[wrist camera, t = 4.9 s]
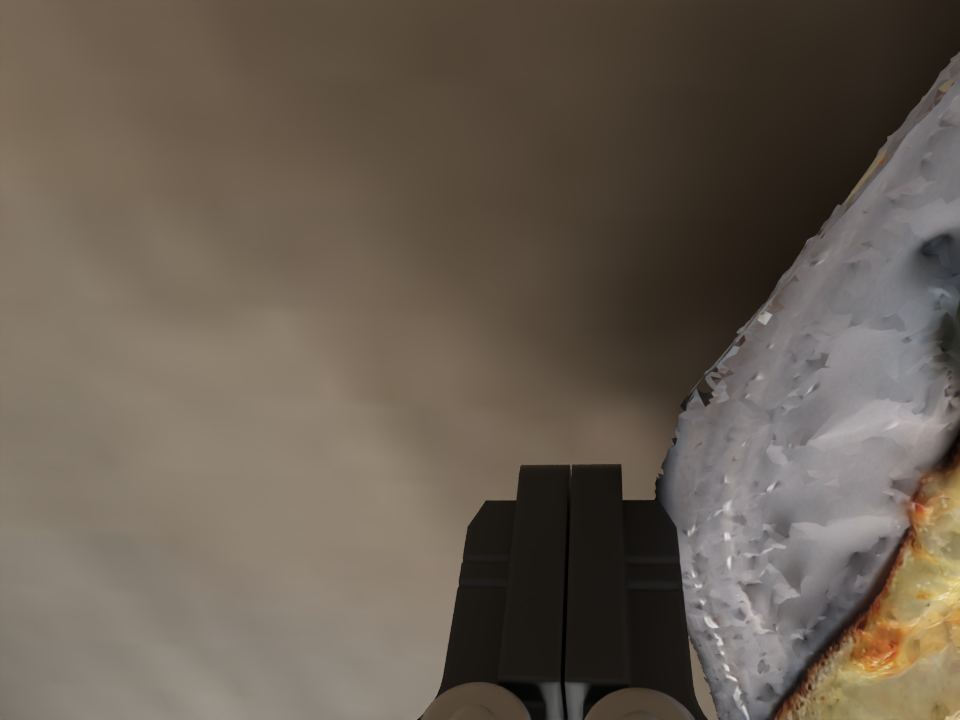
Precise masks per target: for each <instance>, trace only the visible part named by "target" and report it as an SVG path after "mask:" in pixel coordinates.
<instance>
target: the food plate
mask: <svg viewBox="0 0 960 720" xmlns="http://www.w3.org/2000/svg"><path fill="white" fill-rule="evenodd" d="M950 61H951V62H950V64H949V65H948V66H947V67H946V68H945V69H943V70H942V71H941V72H940V74H939V77H938V78H937V80H936V81H935V83H934V84H933V86H932V87H931V89H930V90H929V91H928V93H927V94H926V95H925V96H923V97H922V99H921V102H920V103H919V104H918V105H917V106H916V107H915V108H914V109H913V110H912V111H911V112H910V113H909V115H908V117H907V118H906V120H905V122H904V123H903V124H902V126H901V127H900V128H899V129H898V130H897V131H895V132H894V133H893V134H892V135H890V136H887V142H886V143H885V145H884V146H883V147H882V148H880V149H879V151H878V154H877V156H876V158H875V160H874V161H873V163H872V164H871V166H870V167H869V168H868V170H867V171H866V173H865V174H864V175H863V177H862V178H861V180H860V181H859V182H858V184H857V185H856V186H855V188H854V189H853V190H851V193H850V195H849V196H848V197H847V199H846V200H845V201H844V203H843V204H842V205H838V204H837V206H836V208H835V209H834V211H833V213H832V215H831V216H830V218H829V219H828V220H827V221H825V222H824V224H823V225H822V227H821V228H820V231H819V232H818V234H817V235H816V236H814V237H812V238H810V239H808V240H807V241H806V243H805V246H804V248H803V249H802V251H801V253H800V254H799V256H798V257H797V258H796V260H795V261H794V263H793V266H792V267H790V269H789V270H787V271H786V272H785V273H784V274H783V276H782V277H781V278H780V280H779V281H778V283H777V285H776V287H775V289H774V291H773V292H772V293H771V295H770V297H769V298H768V300H767V301H766V303H765V304H762V306H761V307H760V308H759V309H758V310H757V311H756V312H755V314H754V315H753V316H752V317H751V319H750V320H749V321H748V322H747V323H746V324H745V326H744V327H741V328H740V329H739V331H737V332H736V333H739V336H738V337H737V338H736V339H734V341H733V343H732V344H731V345H730V346H729V347H728V349H727V350H726V351H725V352H724V353H723V354H722V355H721V357H720V358H719V359H718V360H717V361H716V362H715V364H714V365H713V366H712V367H711V368H710V369H709V370H707V371H705V375H704V376H703V377H702V379H701V380H700V381H699V382H698V383H697V384H696V385H695V386H694V387H693V389H692V390H691V392H690V393H689V395H688V396H687V397H686V399H685V400H684V401H683V403H682V404H681V407H682V408H683V410H684V411H685V412H683V413H681V414H679V415H678V419H679V421H678V426H677V427H676V428H675V429H674V430H675V433H676V436H677V438H673V439H670V440H669V441H670V442H671V443H672V444H673V445H674V446H675V447H671V448H669V449H668V452H667V456H666V458H665V460H664V462H663V463H662V467H661V468H662V469H663V470H664V475H662V474H659V473H658V474H659V478H660V479H659V478H657V477H656V478H657V480H656V483H655V485H656V490H655V494H656V498H655V500H659V501H660V502H661V504H662V505H663V507H664V509H665V510H666V512H667V513H668V515H669V516H670V518H671V519H672V521H673V522H674V524H675V525H676V527H677V534H678V544H679V553H680V565H681V573H682V582H683V592H684V602H685V612H686V621H687V631H688V635H689V637H690V640H691V643H692V644H693V645H694V646H693V647H694V649H695V650H696V652H697V656H698V658H699V660H700V663H701V665H702V667H703V668H702V669H703V672H704V673H705V675H706V677H707V679H706V678H705V677H704V679H705V680H706V682H707V683H708V684H709V687H710V689H711V692H710V694H711V695H712V698H713V702H714V704H715V708H716V711H717V716H718V717H719V718H718V719H719V720H960V51H959V53H958V54H957V55H956V56H954V57H953V58H951V59H950ZM739 339H740V340H739ZM716 367H717V368H718V372H712V371H713V370H714V369H715V368H716ZM705 377H706V382H707V383H708V384H709V386H710V387H711V388H712V389H713V390H714V391H713V392H712V393H702V392H700V391H698V390H696V389H697V386H698V385H699V384H700V382H701V381H702V380H703V379H704V378H705Z"/></svg>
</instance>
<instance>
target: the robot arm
mask: <svg viewBox="0 0 960 720" xmlns="http://www.w3.org/2000/svg"><path fill="white" fill-rule="evenodd" d="M417 720H708V719H707V718H706V717H705V715H704V714H703V712H702V710H701V708H700V706H699V705H698V702H697V699H696V696H695V692H694V687H693V679H692V670H691V660H690V650H689V641H688V631H687V621H686V612H685V602H684V592H683V582H682V573H681V565H680V553H679V544H678V534H677V527H676V525H675V524H674V522H673V521H672V519H671V518H670V516H669V515H668V513H667V512H666V510H665V509H664V507H663V505H662V504H661V502H660V501H659V500H622V471H621V464H591V465H572V477H571V470H570V465H521V467H520V473H519V482H518V491H517V500H516V501H485V503H484V504H483V506H482V507H481V509H480V510H479V511H478V513H477V514H476V516H475V517H474V519H473V520H472V521H471V523H470V524H469V526H468V529H467V535H466V541H465V547H464V553H463V563H462V565H461V571H460V577H459V588H458V589H457V596H456V602H455V608H454V614H453V620H452V626H451V632H450V638H449V644H448V650H447V656H446V662H445V668H444V674H443V679H442V683H441V687H440V689H439V692H438V694H437V696H436V698H435V699H434V701H433V702H432V703H431V704H430V706H429V707H428V708H427V709H426V711H425V713H424V714H423V715H422V716H421V717H420V718H418V719H417Z"/></svg>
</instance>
